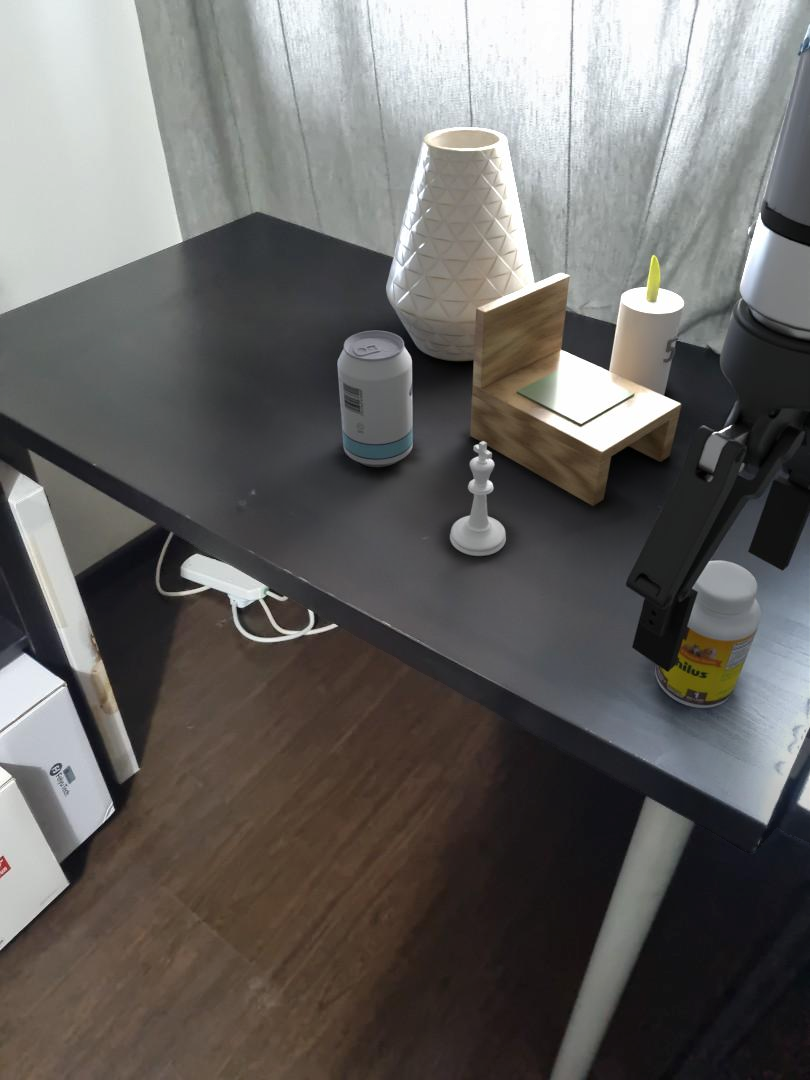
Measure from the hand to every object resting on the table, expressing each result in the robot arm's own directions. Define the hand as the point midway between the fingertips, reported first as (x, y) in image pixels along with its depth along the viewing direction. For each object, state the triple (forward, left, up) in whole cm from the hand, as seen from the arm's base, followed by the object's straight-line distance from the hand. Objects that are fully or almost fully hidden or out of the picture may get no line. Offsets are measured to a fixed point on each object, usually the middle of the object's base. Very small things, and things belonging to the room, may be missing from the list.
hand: (713, 605), depth 56 cm
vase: (+50, -25, -8) cm, 56 cm away
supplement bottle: (0, 0, -8) cm, 8 cm away
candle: (+28, -31, -8) cm, 42 cm away
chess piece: (+22, 0, -8) cm, 23 cm away
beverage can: (+38, -2, -8) cm, 39 cm away
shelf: (+26, -17, -8) cm, 32 cm away
